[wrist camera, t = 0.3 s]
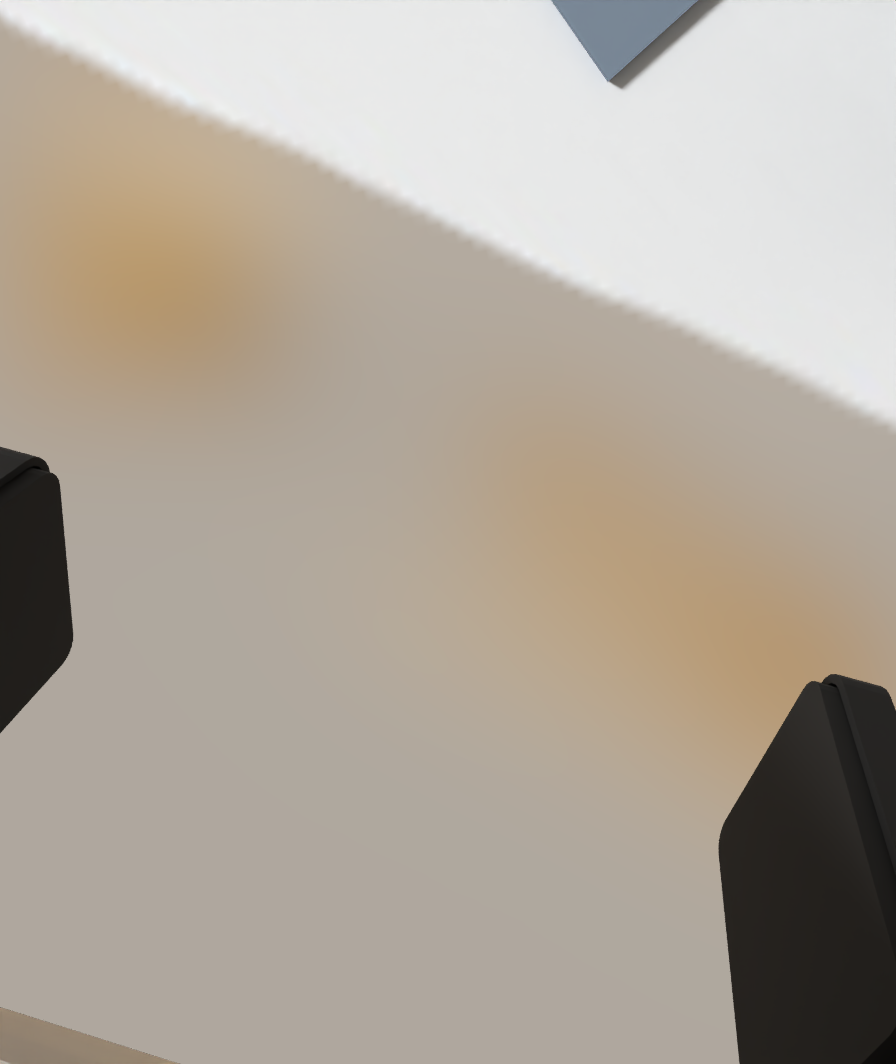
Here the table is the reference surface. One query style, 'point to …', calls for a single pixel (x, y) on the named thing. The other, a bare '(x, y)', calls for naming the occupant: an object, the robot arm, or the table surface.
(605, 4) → the mat
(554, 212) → the table surface
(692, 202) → the table surface
